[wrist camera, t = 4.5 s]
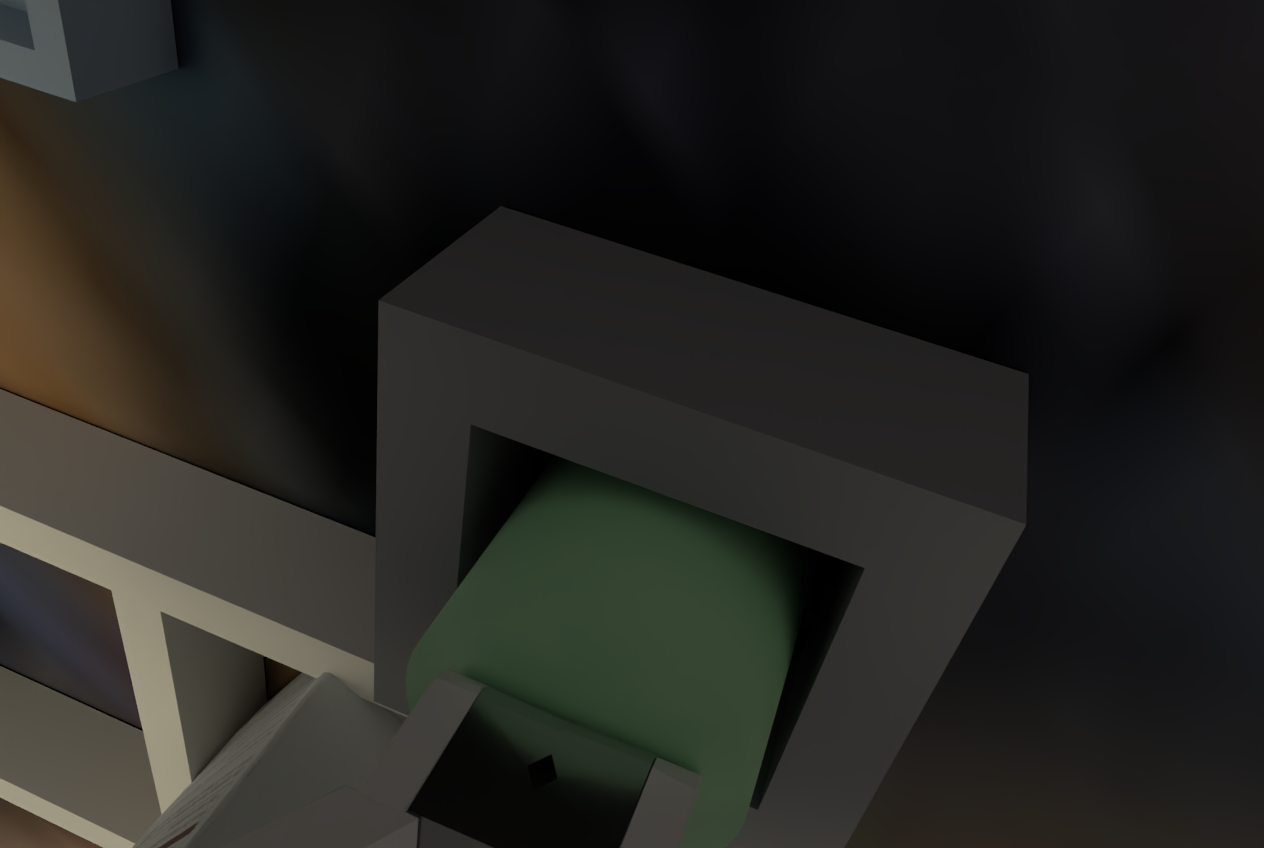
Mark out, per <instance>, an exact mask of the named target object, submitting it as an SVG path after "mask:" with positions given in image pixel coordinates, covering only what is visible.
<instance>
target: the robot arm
mask: <svg viewBox="0 0 1264 848" xmlns="http://www.w3.org/2000/svg"><path fill="white" fill-rule="evenodd" d="M655 760H656V761H655ZM701 777H702V775H701V774H699V773H696V772H694V771H691V770H689V769H686V768H684V767H681V766H678V765H676V764H673V763H671V762H668V761H666V760H663V759H661V758H658V757H657V759H656V755H655V754H653V753H650V752H648V751H645V750H643V749H640V748H638V747H635V746H633V745H630V744H628V743H625V742H623V741H620V740H618V739H615V738H613V737H610V736H608V735H605V734H603V733H600V732H598V731H595V730H593V729H590V728H588V727H585V726H583V725H580V724H577V723H575V722H572V721H571V722H569V721H567V720H565V719H562V718H560V717H558V716H555V715H553V714H551V713H548V712H546V711H544V710H541V709H539V708H537V707H535V706H532V705H530V704H528V703H525V702H523V701H521V700H518V699H516V698H514V697H511V696H509V695H507V694H504V693H502V692H500V691H498V690H495V689H493V688H491V687H489V686H487V685H485V684H483V683H480V682H478V681H475V680H473V679H471V678H468V677H466V676H463V675H461V674H459V673H456V672H454V671H451V670H449V669H446V668H445V669H444V670H443V671H442V672H441V673H440V674H439V675H438V676H436V677H435V678H434V679H433V680H432V682H431V683H430V685H429V686H428V688H427V689H426V690H425V692H424V693H423V695H422V696H421V698H420V699H419V701H418V702H417V704H416V705H415V707H414V708H413V709H412V711H411V712H410V714H409V715H408V717H407V718H406V720H405V721H404V723H403V724H402V725H401V727H400V728H399V730H398V731H397V733H396V734H395V736H394V737H393V739H392V740H391V742H390V743H389V744H388V746H387V747H386V749H385V750H384V752H383V753H382V755H381V756H380V758H379V759H378V760H377V762H376V763H375V765H374V766H373V768H372V769H371V771H370V772H369V774H368V775H367V777H366V778H365V779H364V781H363V782H362V784H361V785H360V787H359V788H358V790H357V789H355V788H352V787H350V786H347V785H343V786H341V787H339V788H337V789H335V790H333V791H331V792H329V793H327V794H325V795H323V796H321V797H319V798H317V799H315V800H313V801H311V802H309V803H307V804H305V805H303V806H301V807H299V808H297V809H295V810H293V811H291V812H289V813H287V814H285V815H283V816H281V817H279V818H277V819H275V820H273V821H271V822H269V823H267V824H265V825H263V826H261V827H259V828H257V829H255V830H253V831H251V832H249V833H247V834H245V835H243V836H241V837H239V838H237V839H235V840H233V841H231V842H229V843H227V844H225V845H223V846H221V847H219V848H679V846H680V843H681V840H682V837H683V834H684V831H685V828H686V825H687V822H688V819H689V816H690V813H691V810H692V807H693V804H694V802H695V799H696V796H697V793H698V790H699V787H700V782H701Z"/></svg>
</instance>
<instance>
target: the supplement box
mask: <svg viewBox="0 0 1264 848" xmlns="http://www.w3.org/2000/svg"><path fill="white" fill-rule="evenodd" d="M406 718H407V717H405V716H403V715H400V714H398V713H396V712H393V711H391V710H389V709H386V708H384V707H382V706H379V705H377V704H375V703H372V702H370V701H368V700H365V699H363V698H361V697H359V696H358V695H357V694H356V693H355V692H353V691H352V690H351V689H350V688H349V687H347V686H346V685H345V684H344V683H343V682H341V681H340V680H339V679H338V678H336V677H335V676H334V675H333V674H331V673H329V672H324V673H323V674H321V675H320V676H319V677H318V678H314V677H312V676H310V675H307V674H305V673H303V672H302V673H301V674H300V675H298V676H297V677H296V678H295V679H294V680H293V681H291V682H290V683H289V684H288V685H287V686H286V687H285V688H283V689H282V690H281V691H280V692H279V693H278V694H276V695H275V696H274V697H273V698H272V699H271V700H270V701H268V702H267V703H266V704H265V705H264V706H263V707H262V708H260V709H259V710H258V711H257V712H256V713H255V714H254V715H253V716H252V717H250V718H249V719H248V720H247V721H246V722H245V723H244V724H243V725H242V727H241V728H240V729H239V730H238V731H237V732H236V733H235V734H234V735H233V736H232V737H231V739H230V740H229V741H228V742H227V743H226V744H225V745H224V747H223V748H222V749H221V750H220V751H219V752H218V753H217V754H216V756H215V757H214V758H213V759H212V760H211V761H210V762H209V764H208V765H207V766H206V767H205V768H204V769H203V770H202V771H201V773H200V774H199V775H198V776H197V777H196V778H195V779H194V781H193V782H192V783H191V784H190V785H189V786H188V787H187V788H186V789H184V791H183V792H182V793H181V794H180V795H179V796H178V797H177V798H176V800H175V801H174V802H173V803H172V804H171V805H170V806H169V807H168V808H167V809H166V810H165V811H164V813H163V814H162V815H161V816H160V817H159V818H158V819H157V820H156V821H155V822H154V823H153V825H152V826H151V827H150V828H149V829H148V830H147V831H146V832H145V833H144V835H143V836H142V837H141V838H140V839H139V840H138V841H137V842H136V844H135V845H134V846H133V847H132V848H219V847H221V846H223V845H225V844H227V843H229V842H231V841H233V840H235V839H237V838H239V837H241V836H243V835H245V834H247V833H249V832H251V831H253V830H255V829H257V828H259V827H261V826H263V825H265V824H267V823H269V822H271V821H273V820H275V819H277V818H279V817H281V816H283V815H285V814H287V813H289V812H291V811H293V810H295V809H297V808H299V807H301V806H303V805H305V804H307V803H309V802H311V801H313V800H315V799H317V798H319V797H321V796H323V795H325V794H327V793H329V792H331V791H333V790H335V789H337V788H339V787H341V786H343V785H347V786H350V787H352V788H355V789H357V790H358V788H359V787H360V785H361V784H362V782H363V781H364V779H365V778H366V777H367V775H368V774H369V772H370V771H371V769H372V768H373V766H374V765H375V763H376V762H377V760H378V759H379V758H380V756H381V755H382V753H383V752H384V750H385V749H386V747H387V746H388V744H389V743H390V742H391V740H392V739H393V737H394V736H395V734H396V733H397V731H398V730H399V728H400V727H401V725H402V724H403V723H404V721H405V720H406Z"/></svg>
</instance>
